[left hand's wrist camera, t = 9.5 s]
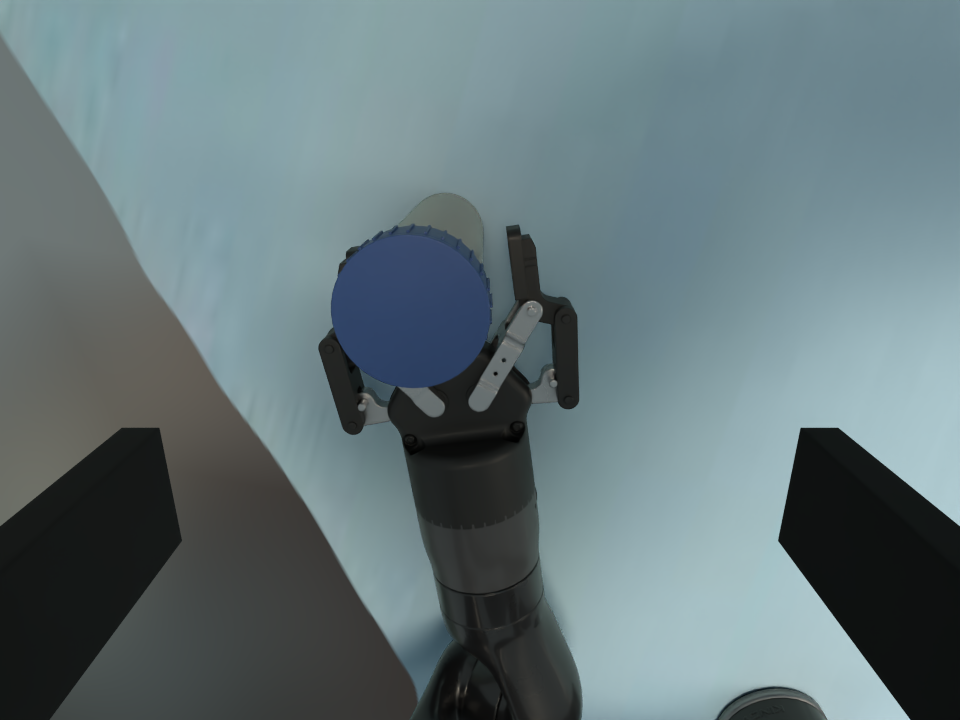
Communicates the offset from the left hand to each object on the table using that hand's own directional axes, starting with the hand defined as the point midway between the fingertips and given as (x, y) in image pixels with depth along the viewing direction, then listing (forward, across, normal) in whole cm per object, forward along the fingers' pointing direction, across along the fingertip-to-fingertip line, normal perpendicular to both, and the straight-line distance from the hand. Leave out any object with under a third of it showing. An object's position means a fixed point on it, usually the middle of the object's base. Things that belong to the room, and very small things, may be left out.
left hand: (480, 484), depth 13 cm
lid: (+9, +2, -1) cm, 9 cm away
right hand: (+22, +2, -2) cm, 22 cm away
